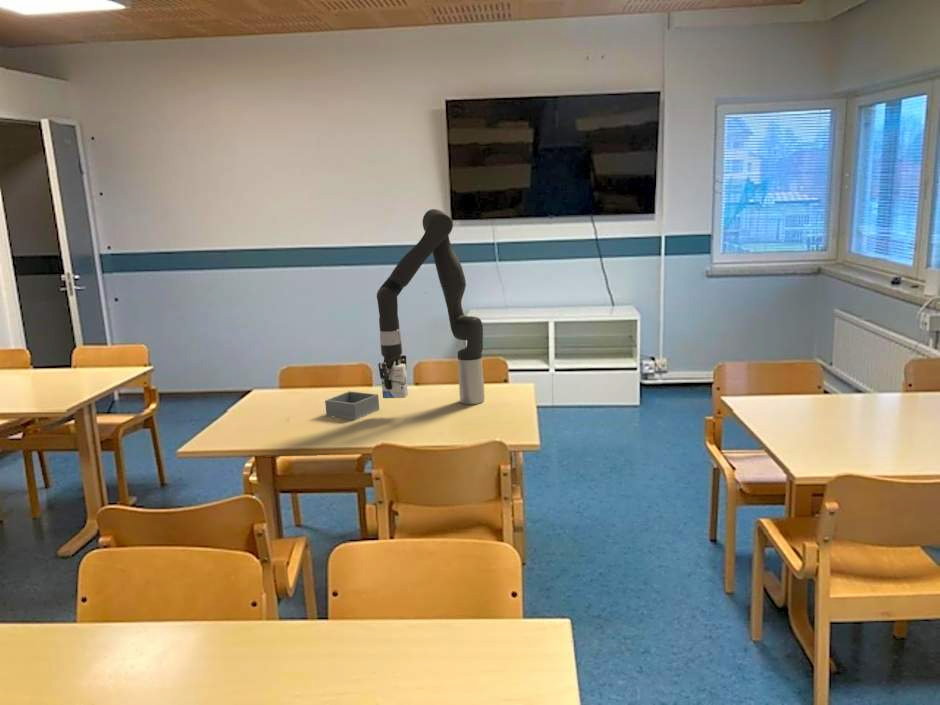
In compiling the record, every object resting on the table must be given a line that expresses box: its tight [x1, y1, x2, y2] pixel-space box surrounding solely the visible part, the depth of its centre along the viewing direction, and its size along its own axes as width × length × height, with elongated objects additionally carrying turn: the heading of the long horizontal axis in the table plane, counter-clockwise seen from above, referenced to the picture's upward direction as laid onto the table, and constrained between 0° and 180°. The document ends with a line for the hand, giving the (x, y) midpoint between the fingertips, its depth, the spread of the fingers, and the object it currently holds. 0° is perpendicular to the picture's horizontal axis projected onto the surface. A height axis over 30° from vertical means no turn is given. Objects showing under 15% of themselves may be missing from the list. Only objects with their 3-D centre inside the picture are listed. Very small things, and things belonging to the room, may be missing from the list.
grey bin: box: [324, 390, 380, 420], centre depth 275 cm, size 14×14×6 cm
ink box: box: [380, 364, 409, 399], centre depth 267 cm, size 9×5×12 cm, turn 82°
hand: (394, 386), depth 267 cm, fingers closed on ink box, 6 cm apart
